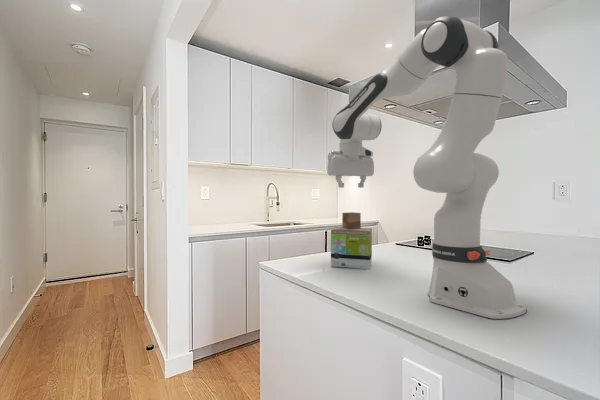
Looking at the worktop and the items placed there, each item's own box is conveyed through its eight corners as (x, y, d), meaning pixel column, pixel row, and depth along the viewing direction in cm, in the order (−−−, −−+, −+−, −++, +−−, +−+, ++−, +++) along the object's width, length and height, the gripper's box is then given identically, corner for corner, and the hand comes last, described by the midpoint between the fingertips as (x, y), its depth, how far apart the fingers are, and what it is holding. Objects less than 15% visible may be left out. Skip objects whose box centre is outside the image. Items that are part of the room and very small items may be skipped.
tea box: (330, 267, 119) (330, 229, 119) (335, 262, 129) (334, 226, 129) (370, 269, 115) (370, 230, 115) (372, 264, 125) (372, 227, 124)
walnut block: (360, 228, 121) (360, 212, 121) (350, 229, 118) (350, 213, 118) (352, 227, 125) (352, 212, 125) (342, 228, 123) (342, 212, 123)
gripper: (332, 149, 114) (333, 187, 114) (376, 152, 123) (376, 187, 123) (323, 151, 119) (324, 187, 120) (366, 154, 129) (366, 187, 129)
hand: (351, 187), depth 122 cm, fingers open, 8 cm apart
